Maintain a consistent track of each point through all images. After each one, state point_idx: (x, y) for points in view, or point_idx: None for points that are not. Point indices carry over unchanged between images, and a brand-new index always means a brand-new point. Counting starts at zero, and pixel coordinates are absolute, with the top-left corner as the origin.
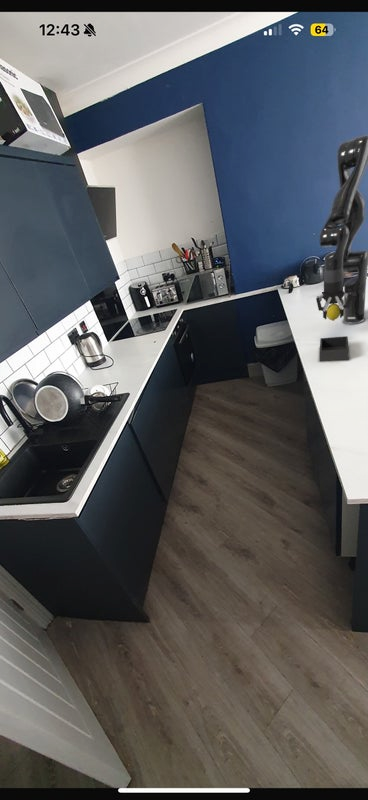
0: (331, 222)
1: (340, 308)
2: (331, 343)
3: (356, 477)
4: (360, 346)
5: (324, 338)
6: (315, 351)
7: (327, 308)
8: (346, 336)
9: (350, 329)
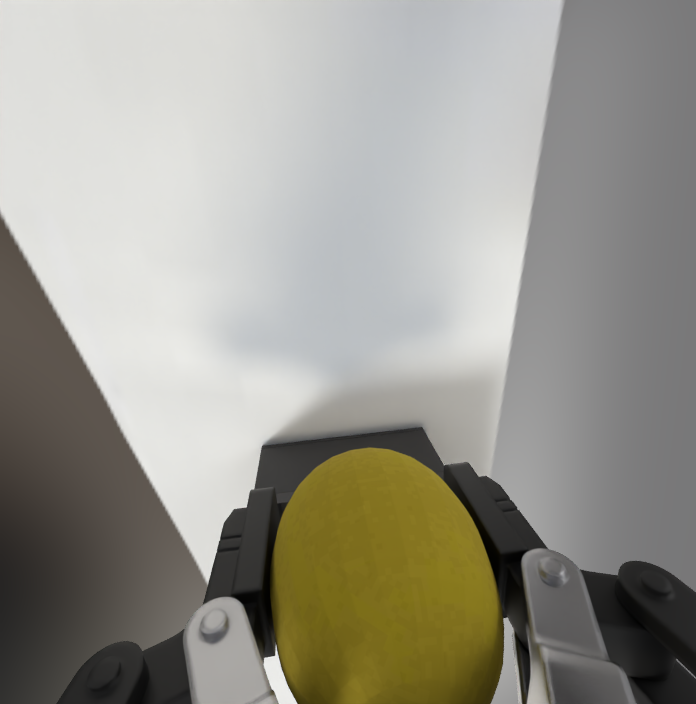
0: None
1: (504, 564)
2: None
3: None
4: (492, 431)
5: (285, 501)
6: (238, 490)
7: (285, 677)
8: (440, 475)
9: (461, 114)
